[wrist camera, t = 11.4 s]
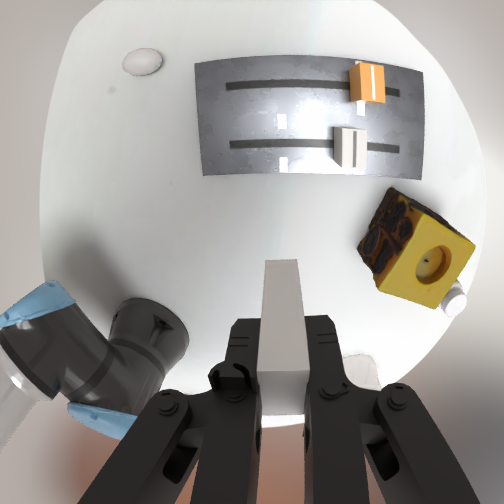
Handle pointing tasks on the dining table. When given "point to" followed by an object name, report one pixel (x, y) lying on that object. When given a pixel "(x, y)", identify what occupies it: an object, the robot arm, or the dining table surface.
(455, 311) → the supplement bottle
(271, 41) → the dining table surface
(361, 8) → the dining table surface
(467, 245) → the candle
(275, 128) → the console
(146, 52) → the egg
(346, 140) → the fader
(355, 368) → the vase
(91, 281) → the dining table surface
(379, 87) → the fader
